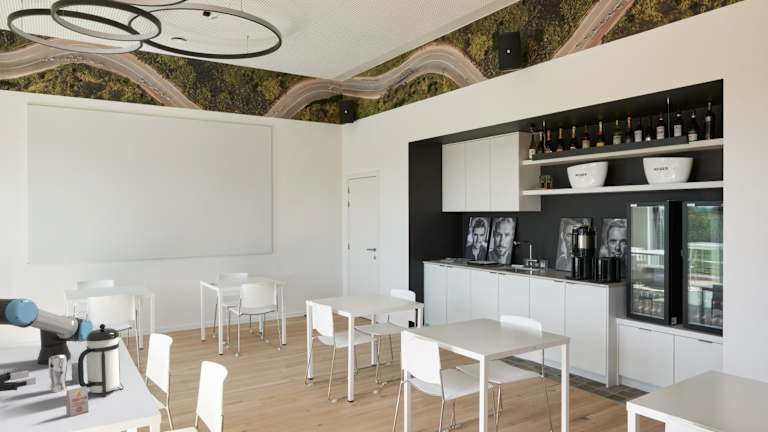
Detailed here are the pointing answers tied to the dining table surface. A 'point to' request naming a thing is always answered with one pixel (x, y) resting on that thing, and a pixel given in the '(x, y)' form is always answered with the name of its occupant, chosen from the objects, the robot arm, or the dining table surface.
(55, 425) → the dining table surface
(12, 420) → the dining table surface
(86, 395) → the printed carton
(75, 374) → the block
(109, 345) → the coffee press
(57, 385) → the beer glass
